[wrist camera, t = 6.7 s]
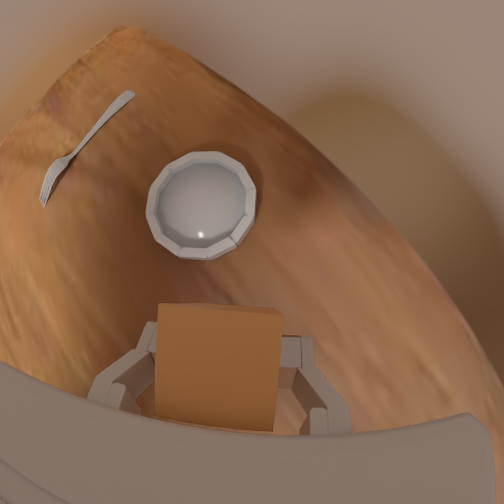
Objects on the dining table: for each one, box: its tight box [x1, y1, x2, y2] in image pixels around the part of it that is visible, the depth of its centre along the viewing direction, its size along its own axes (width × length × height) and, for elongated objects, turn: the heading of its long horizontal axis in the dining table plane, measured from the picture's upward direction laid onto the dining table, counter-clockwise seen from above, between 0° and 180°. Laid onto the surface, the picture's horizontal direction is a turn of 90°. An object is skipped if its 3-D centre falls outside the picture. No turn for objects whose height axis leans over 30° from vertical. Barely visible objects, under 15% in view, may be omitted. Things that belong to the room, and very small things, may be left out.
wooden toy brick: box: [155, 303, 284, 432], centre depth 12 cm, size 4×4×8 cm
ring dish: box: [145, 151, 257, 260], centre depth 28 cm, size 11×11×2 cm
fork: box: [39, 90, 136, 207], centre depth 32 cm, size 3×21×3 cm, turn 143°
